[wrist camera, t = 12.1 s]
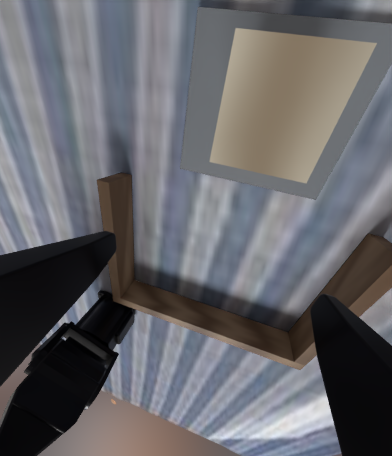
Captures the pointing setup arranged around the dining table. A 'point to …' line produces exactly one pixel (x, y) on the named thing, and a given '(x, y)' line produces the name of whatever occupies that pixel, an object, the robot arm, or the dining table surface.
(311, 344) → the open wooden frame
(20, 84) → the dining table surface
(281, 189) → the mat
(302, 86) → the birch block
